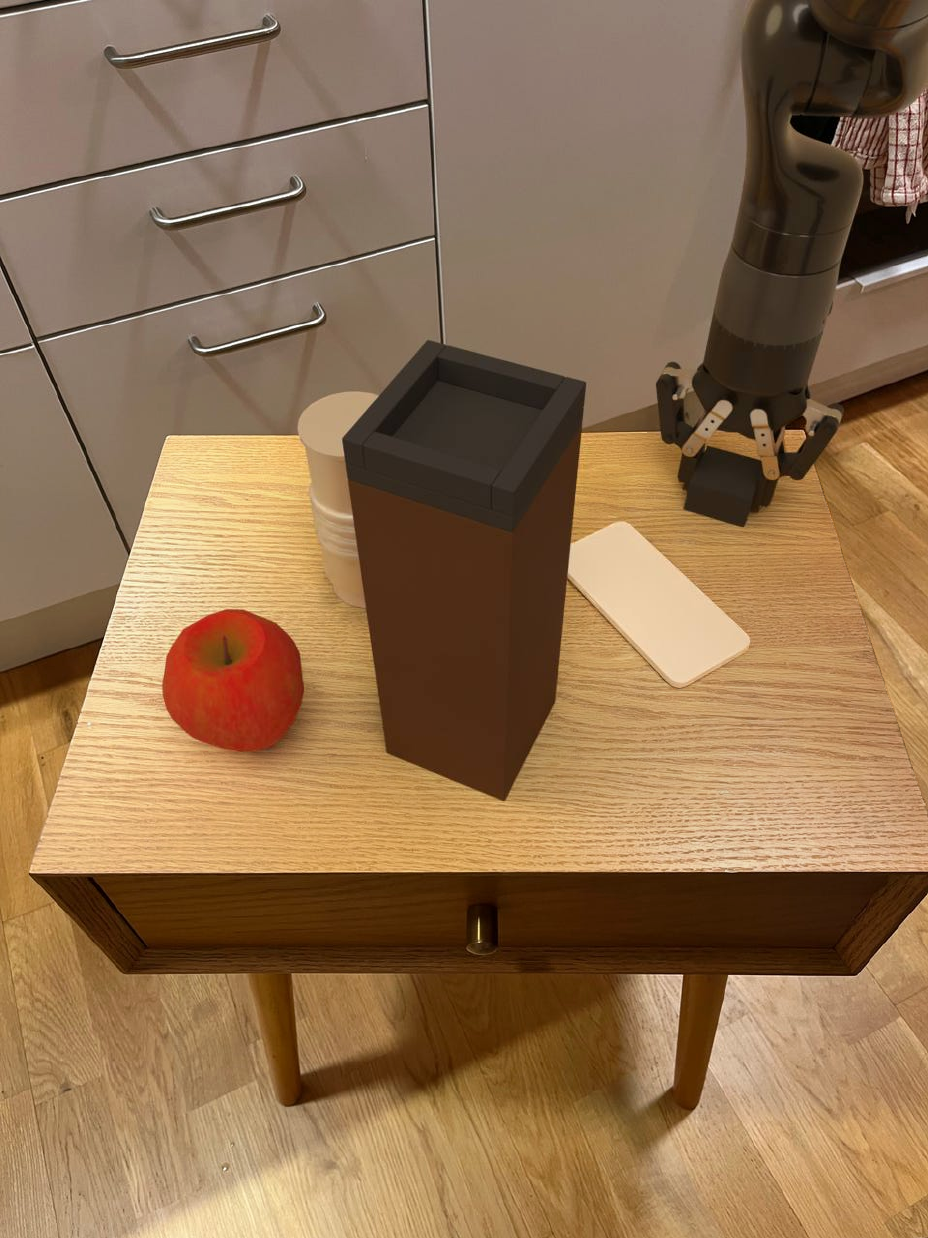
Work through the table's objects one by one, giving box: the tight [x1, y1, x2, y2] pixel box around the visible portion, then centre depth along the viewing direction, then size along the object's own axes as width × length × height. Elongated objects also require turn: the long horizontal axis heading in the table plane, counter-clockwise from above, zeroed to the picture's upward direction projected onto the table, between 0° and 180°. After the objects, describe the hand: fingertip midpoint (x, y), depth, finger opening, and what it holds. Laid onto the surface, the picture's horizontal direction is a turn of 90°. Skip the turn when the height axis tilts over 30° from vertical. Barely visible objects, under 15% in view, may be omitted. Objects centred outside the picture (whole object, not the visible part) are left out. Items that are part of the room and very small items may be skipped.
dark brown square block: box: [683, 445, 763, 528], centre depth 78 cm, size 5×5×3 cm
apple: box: [161, 608, 305, 753], centre depth 61 cm, size 9×8×11 cm
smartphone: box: [567, 520, 751, 689], centre depth 72 cm, size 7×1×15 cm
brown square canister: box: [342, 339, 587, 802], centre depth 55 cm, size 9×9×26 cm
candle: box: [297, 390, 379, 609], centre depth 68 cm, size 7×7×15 cm
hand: (723, 493), depth 79 cm, fingers closed on dark brown square block, 5 cm apart
